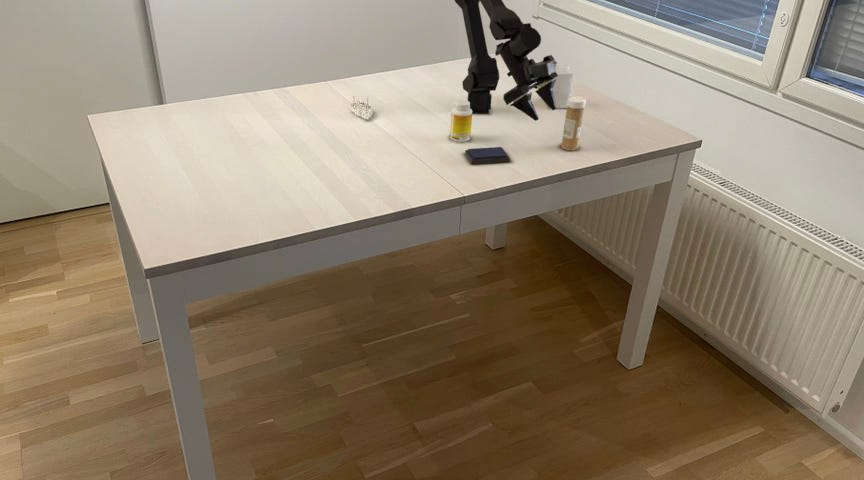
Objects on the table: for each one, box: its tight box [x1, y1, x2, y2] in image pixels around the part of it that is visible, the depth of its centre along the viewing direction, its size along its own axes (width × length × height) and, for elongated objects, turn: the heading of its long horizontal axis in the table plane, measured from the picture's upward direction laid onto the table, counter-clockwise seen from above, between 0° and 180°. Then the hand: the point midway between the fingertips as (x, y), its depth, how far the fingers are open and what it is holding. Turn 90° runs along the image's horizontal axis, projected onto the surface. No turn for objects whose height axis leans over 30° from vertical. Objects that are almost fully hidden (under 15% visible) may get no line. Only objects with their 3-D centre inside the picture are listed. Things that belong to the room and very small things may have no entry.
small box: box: [552, 65, 574, 109], centre depth 216 cm, size 8×6×10 cm
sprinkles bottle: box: [560, 95, 587, 151], centre depth 188 cm, size 5×5×13 cm
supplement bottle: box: [449, 99, 473, 143], centre depth 193 cm, size 6×6×10 cm
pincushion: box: [348, 95, 374, 120], centre depth 209 cm, size 12×6×6 cm, turn 19°
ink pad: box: [464, 146, 511, 165], centre depth 185 cm, size 10×6×2 cm, turn 99°
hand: (546, 114), depth 191 cm, fingers open, 9 cm apart
